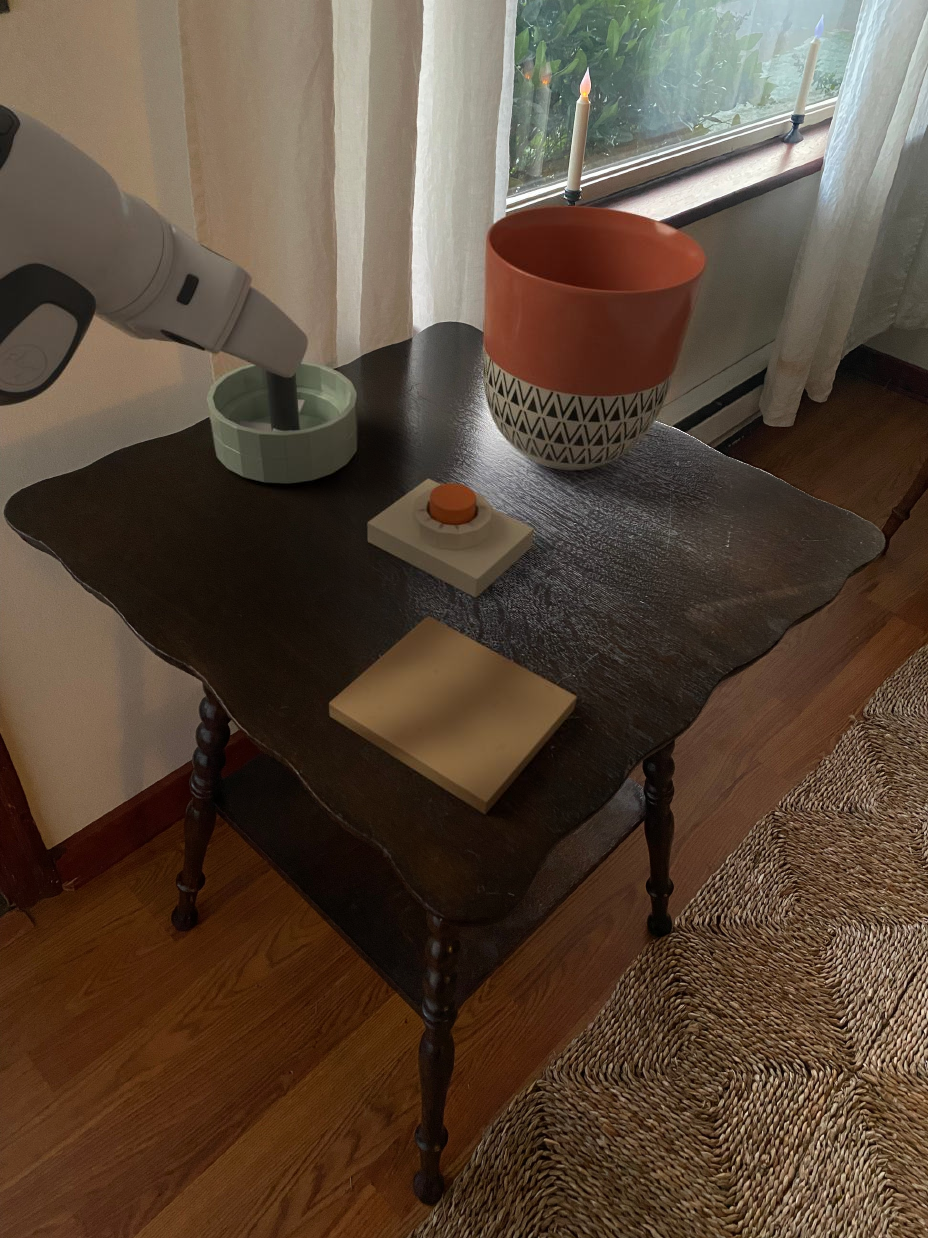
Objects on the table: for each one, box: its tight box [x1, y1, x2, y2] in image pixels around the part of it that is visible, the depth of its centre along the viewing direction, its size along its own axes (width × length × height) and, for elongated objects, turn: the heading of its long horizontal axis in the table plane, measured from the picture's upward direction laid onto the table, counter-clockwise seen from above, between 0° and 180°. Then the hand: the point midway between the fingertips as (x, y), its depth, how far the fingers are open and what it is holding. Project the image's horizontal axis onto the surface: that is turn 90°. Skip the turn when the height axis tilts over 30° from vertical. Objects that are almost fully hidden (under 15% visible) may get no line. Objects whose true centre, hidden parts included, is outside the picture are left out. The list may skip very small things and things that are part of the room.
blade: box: [239, 370, 309, 432], centre depth 87 cm, size 10×10×12 cm
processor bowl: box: [206, 360, 359, 484], centre depth 89 cm, size 14×14×6 cm
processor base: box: [366, 478, 535, 599], centre depth 80 cm, size 12×9×4 cm
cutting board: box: [328, 615, 578, 815], centre depth 66 cm, size 14×12×2 cm
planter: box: [482, 205, 708, 471], centre depth 86 cm, size 20×20×21 cm
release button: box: [430, 482, 476, 526], centre depth 78 cm, size 4×4×2 cm
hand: (247, 348), depth 80 cm, fingers open, 8 cm apart
